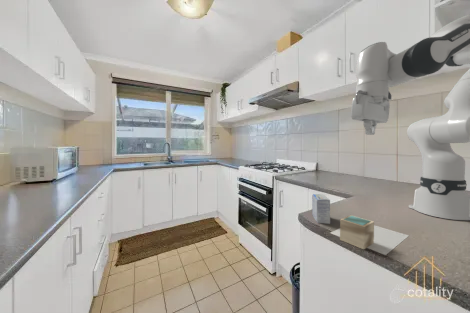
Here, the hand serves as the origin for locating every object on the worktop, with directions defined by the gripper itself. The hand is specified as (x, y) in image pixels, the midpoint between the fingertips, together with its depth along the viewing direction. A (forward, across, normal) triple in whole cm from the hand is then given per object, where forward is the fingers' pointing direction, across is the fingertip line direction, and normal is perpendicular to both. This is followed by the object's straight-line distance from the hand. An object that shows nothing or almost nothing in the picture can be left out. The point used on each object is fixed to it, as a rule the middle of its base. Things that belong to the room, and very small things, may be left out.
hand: (370, 134), depth 62 cm
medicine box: (+31, -11, +11) cm, 35 cm away
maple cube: (+25, -18, -4) cm, 31 cm away
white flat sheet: (+31, -10, -4) cm, 33 cm away
